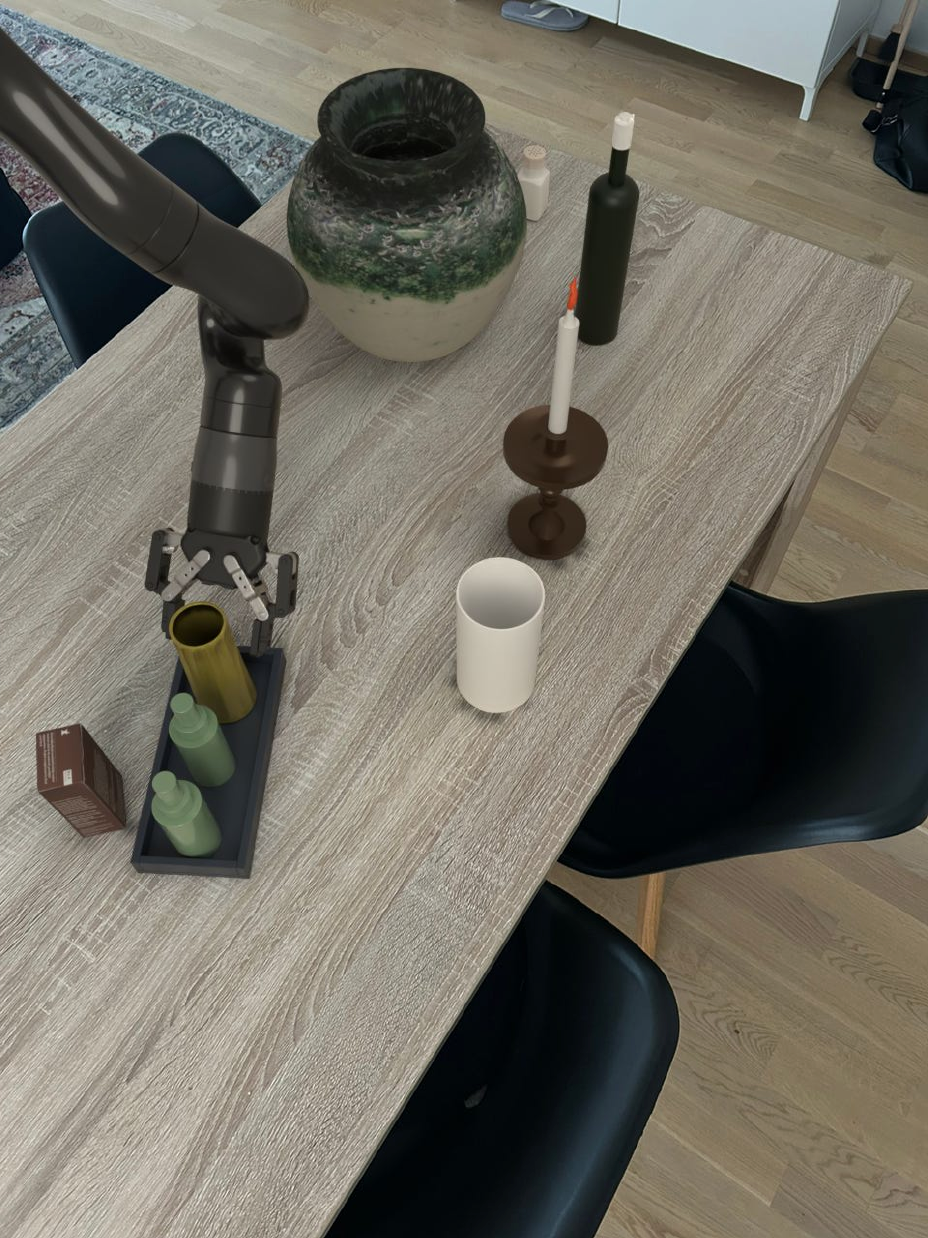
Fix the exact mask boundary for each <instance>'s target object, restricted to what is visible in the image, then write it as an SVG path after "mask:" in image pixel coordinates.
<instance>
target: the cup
mask: <svg viewBox="0 0 928 1238" xmlns="http://www.w3.org/2000/svg"><path fill="white" fill-rule="evenodd" d="M545 604H546V591H545V586H544V583H543V581H542V578H541V576H539V574H538V573H537V572H536V571H535V570H534V569H533V568H532V567H531V566H529V565H528V564H526V563H524V562H523V561H520V560H518V559H515V558H510V557H505V556H504V557H503V556H500V557H499V556H498V557H497V556H496V557H489V558H485V559H482V560H480V561H477V562H475V563H474V564H472V565H471V566H469V567H468V568H467V569H466V570H465V571H464V572H463V574H462V575H461V576H460V578H459V580H458V582H457V586H456V591H455V627H456V628H455V629H456V630H455V632H456V633H455V636H456V640H455V641H456V683H457V687H458V690H459V693H460V694H461V696H462V697H463V698H464V700H466V702H467V703H468V704H470V705H471V706H472V707H474V708H475V709H478V710H480V711H483V712H486V713H492V714H502V713H507V712H511V711H513V710H516V709H518V708H520V707H521V706H522V705H524V704H525V703H526V702H527V701H528V700H529V699H530V697H531V695H532V694H533V691H534V689H535V685H536V678H537V670H538V662H539V655H540V654H539V653H540V645H541V638H542V637H541V636H542V629H543V620H544V612H545Z"/></svg>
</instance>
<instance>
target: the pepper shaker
mask: <svg viewBox="0 0 928 1238" xmlns="http://www.w3.org/2000/svg"><path fill="white" fill-rule="evenodd" d="M546 162H547V150H546V149H545V148H544V147H543V146H541V145H535V144H532V145H528V146H526V147H525V148H524V149H523V152H522V163H521V166H522V167H521V168H520V169H519V171H518V172H517V177H518V179H519V182H520V185H521V187H522V191H523V196H524V200H525V205H526V216H527V220H530V221H533V222H538V221H540V219H541V218H542V217H543V215H544V213H545V212H546V210H547V208H548V207H549V194H550V183H551V182H550V181H551V171H550V170H549V169H547V168H546V166H547V165H546Z"/></svg>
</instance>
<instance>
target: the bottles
mask: <svg viewBox="0 0 928 1238" xmlns="http://www.w3.org/2000/svg"><path fill="white" fill-rule="evenodd" d="M170 705H171V708H172V710H173V712H174V716H173V718H172V720H171V722H170V725H169V734H170V737H171V739H172V740H173V742H174V744H175V746H176V748H177V750H178V752H179V753H180V755H181V757H182V759H183V761H184V763H185V764H186V766H187V768H188V770H189V772H190V774H191V776H192V777H193V779H194V780H195V781H196V782H197V783H198V784H199V785H201V786H204V787H216V786H219V785H222V784H224V783H225V782H226V781H228V780H229V779H230V777H231V776H232V775H233V773H234V770H235V758H234V756H233V754H232V751H231V749H230V747H229V744H228V742H227V740H226V738H225V735H224V733H223V731H222V729H221V726H220V724H219V722H218V719H217V717H216V715H215V714H214V712H213V711H212V710H211V709H209V708H208V707H205V706H202V705H197V704H195V702H194V700H193V698H192V696H191V695H189V694H187V693H179V694H177V695H175V696H174V697H173V698H172V700H171V704H170ZM152 787H153V789H154V791H155V792H156V794H155V795H154V798H153V800H152V805H151V809H152V814H153V816H154V818H155V819H156V821H157V822H158V824H159V825H160V827H161V828H162V830H163V831H164V833H165V834H166V836H167V837H168V839H169V840H170V842H171V843H172V845H173V846H174V848H175V849H176V851H177V852H178V854H179V855H180V856H181V857H182V858H197V859H207V858H209V857H211V856H212V855H213V854H214V853H215V852H216V851H217V850H218V848H219V846H220V844H221V839H222V833H221V829H220V827H219V825H218V824H217V822H216V820H215V818H214V816H213V814H212V812H211V811H210V809H209V807H208V805H207V803H206V801H205V799H204V798H203V796H202V794H201V792H200V790H199V789H198V787H197V786H196V785H194V784H193V783H191V782H189V781H185V780H177V779H176V777H175V775H174V774H173V773H171V772H169V771H162V772H160V773H158V774H157V775H155V777H154V778H153V780H152Z"/></svg>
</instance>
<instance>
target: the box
mask: <svg viewBox="0 0 928 1238" xmlns="http://www.w3.org/2000/svg"><path fill="white" fill-rule="evenodd" d="M35 759H36V760H35V761H36V788H37V789H36V791H37V793H38V794H39V795H40V796H41V797H42V798H43V799H44V800H45V801H46V802H48V803H49V804H50V806H51V807H52V808H54V810H56V812H57V813H58V814H59V815H60V816H61V817H63V819H64V820H65V821H66V822H67V823H68V825H70V826H71V827H72V828H73V829H74V830H75V832H77V833H78V834H79V835H80V836H81V837H82V838H84V839H85V838H88V837H93V836H99V835H103V834H107V833H111V832H116V831H120V830H124V829H126V813H125V812H126V811H125V797H124V785H123V775H122V774H121V772H120V771H119V770H118V768H117V767H116V766H115V764H114V763H113V762H112V761H111V760H110V759H111V758H109V757H108V756H107V754H106V753H105V751H104V750H103V749H102V748H101V747H100V745H99V744H98V743H97V742H96V740H95V739H94V738H93V736H92V735H91V733H90V732H89V731H88V730H87V728H86V727H85V726H84V725H83V723H81V722H78V723H75V724H70V725H67V726H62V727H61V726H60V727H57V728H52V729H48V730H43V731H39V732H36V733H35Z"/></svg>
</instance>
